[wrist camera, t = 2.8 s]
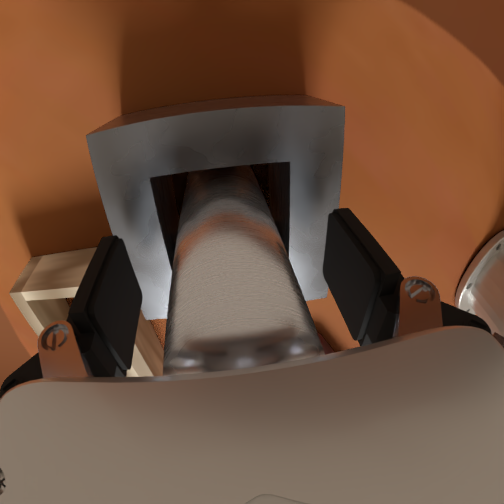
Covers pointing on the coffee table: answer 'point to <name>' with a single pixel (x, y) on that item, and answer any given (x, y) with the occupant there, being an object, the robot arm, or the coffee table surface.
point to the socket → (216, 156)
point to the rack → (56, 307)
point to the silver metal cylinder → (232, 282)
